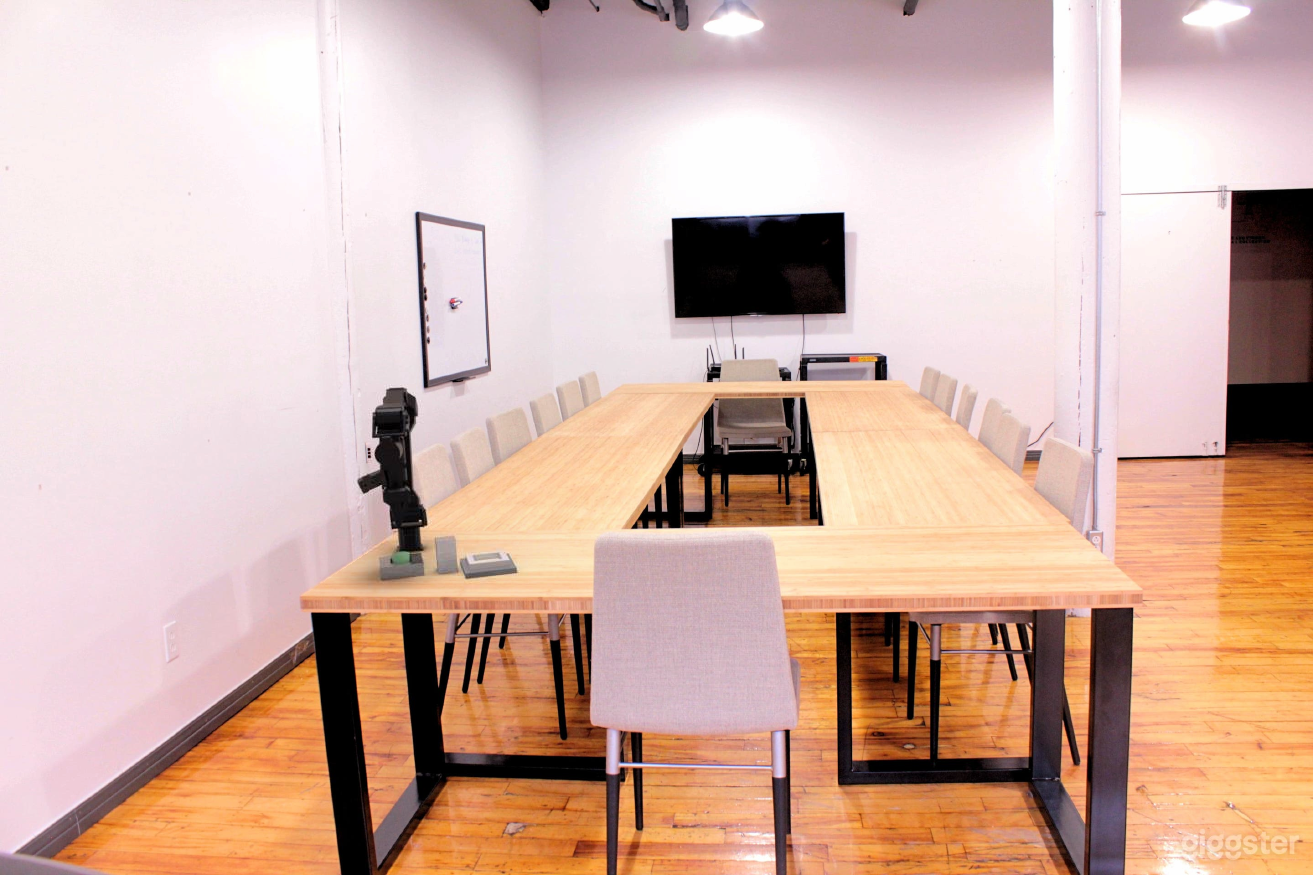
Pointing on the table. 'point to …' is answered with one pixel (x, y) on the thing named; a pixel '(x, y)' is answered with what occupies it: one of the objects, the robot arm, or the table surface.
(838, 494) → the table surface
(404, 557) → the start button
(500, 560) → the grey slotted socket base
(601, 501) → the table surface
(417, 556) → the square peg board
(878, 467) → the table surface
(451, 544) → the block
